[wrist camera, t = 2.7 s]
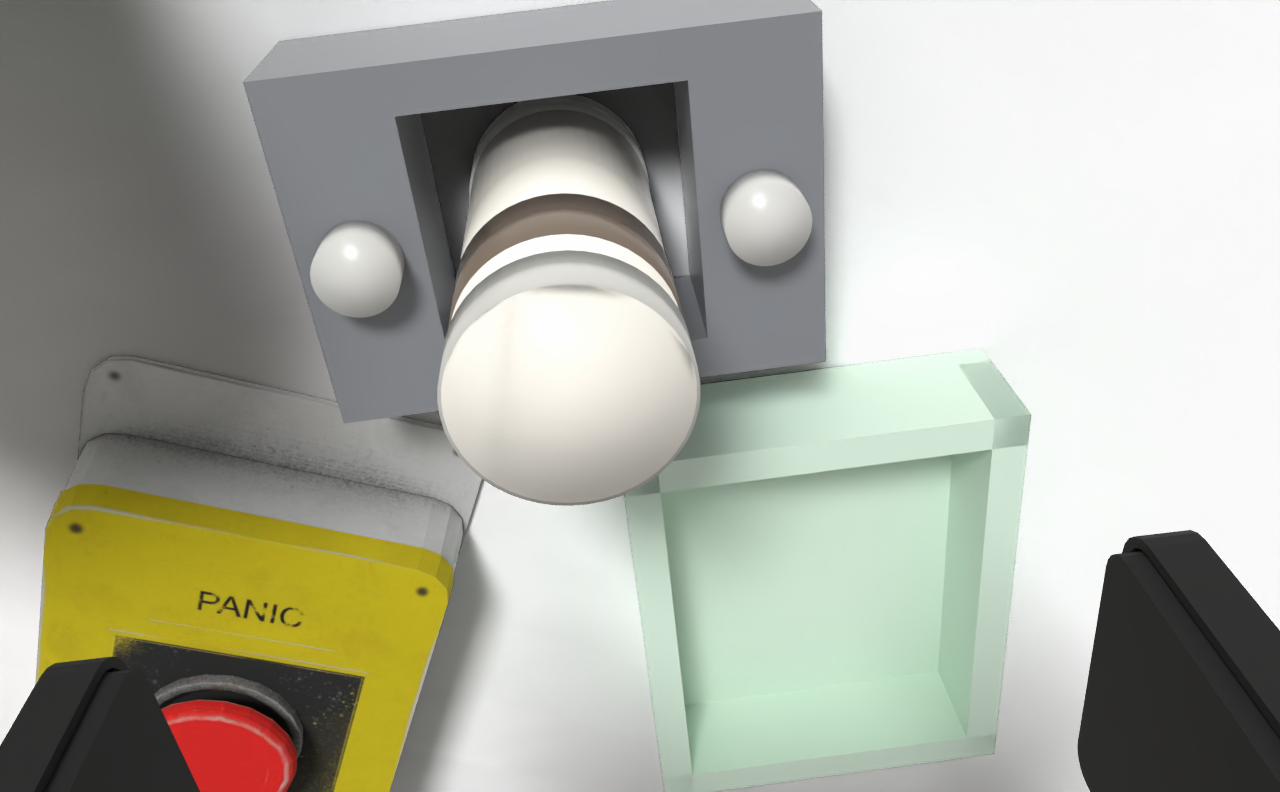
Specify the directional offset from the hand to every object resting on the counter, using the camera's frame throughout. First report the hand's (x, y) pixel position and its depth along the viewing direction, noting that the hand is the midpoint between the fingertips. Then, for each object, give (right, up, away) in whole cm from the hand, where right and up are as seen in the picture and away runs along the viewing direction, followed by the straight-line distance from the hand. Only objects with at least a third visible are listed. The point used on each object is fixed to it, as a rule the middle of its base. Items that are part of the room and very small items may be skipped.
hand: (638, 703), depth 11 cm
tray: (+4, -1, +18) cm, 19 cm away
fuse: (-2, +8, +12) cm, 14 cm away
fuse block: (-2, +8, +12) cm, 14 cm away
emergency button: (-10, -3, +19) cm, 21 cm away
